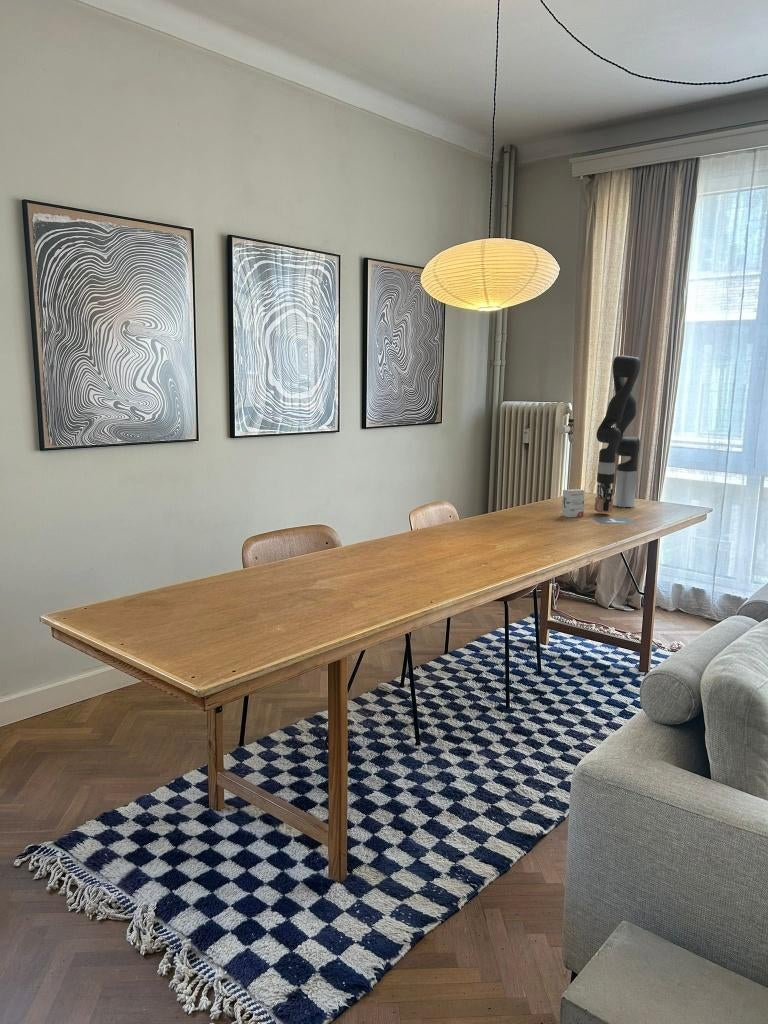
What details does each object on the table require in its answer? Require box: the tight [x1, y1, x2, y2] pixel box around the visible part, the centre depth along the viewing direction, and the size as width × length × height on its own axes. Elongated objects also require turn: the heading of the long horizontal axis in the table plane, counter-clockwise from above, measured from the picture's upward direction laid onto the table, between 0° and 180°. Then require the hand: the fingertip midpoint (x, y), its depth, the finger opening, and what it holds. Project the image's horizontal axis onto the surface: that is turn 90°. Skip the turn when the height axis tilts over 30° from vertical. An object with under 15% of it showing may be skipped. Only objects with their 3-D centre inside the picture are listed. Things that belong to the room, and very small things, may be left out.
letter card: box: [589, 516, 638, 525], centre depth 331 cm, size 16×16×1 cm
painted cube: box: [594, 496, 614, 514], centre depth 344 cm, size 6×6×6 cm
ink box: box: [561, 488, 585, 518], centre depth 340 cm, size 9×5×12 cm, turn 116°
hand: (603, 509), depth 345 cm, fingers closed on painted cube, 6 cm apart
